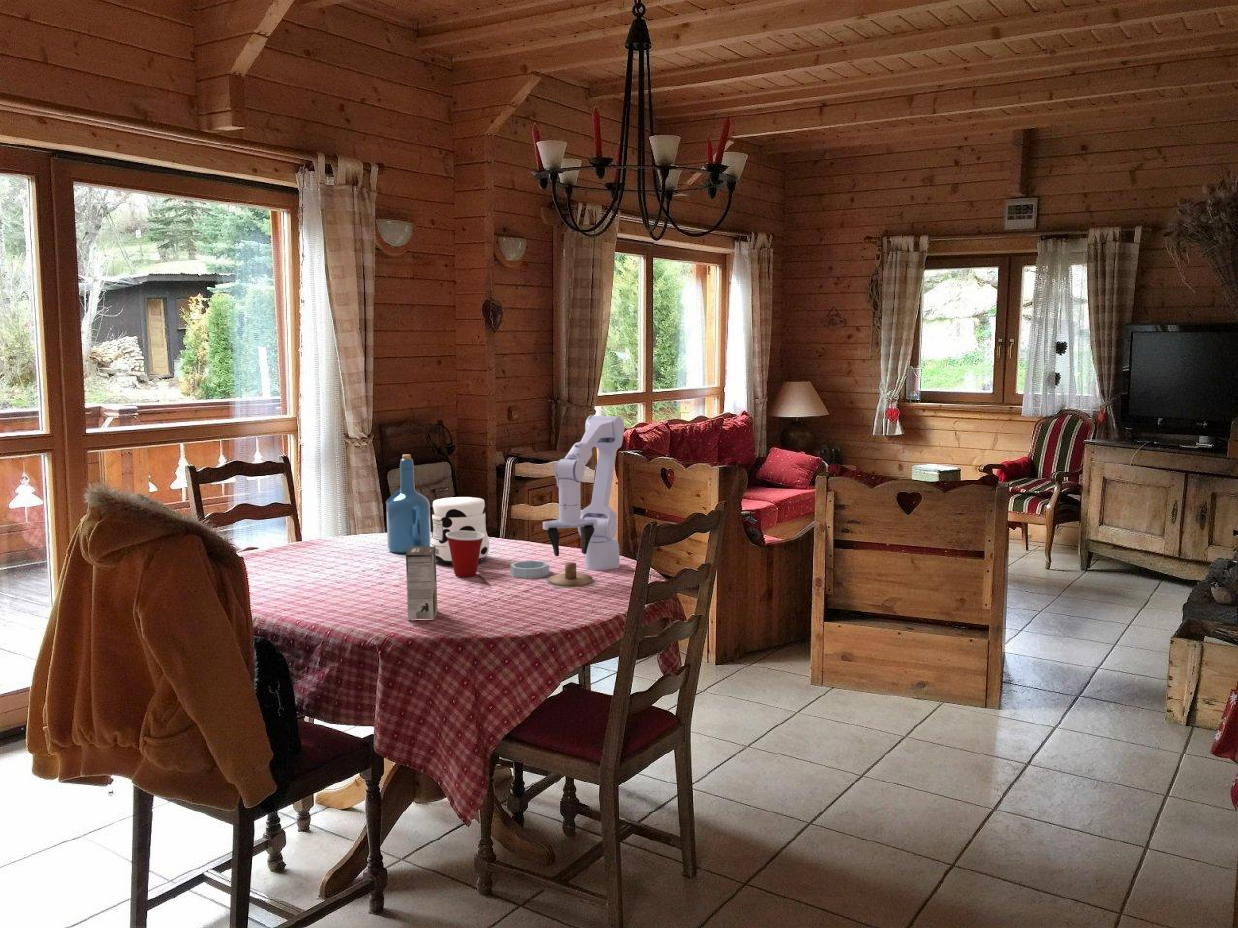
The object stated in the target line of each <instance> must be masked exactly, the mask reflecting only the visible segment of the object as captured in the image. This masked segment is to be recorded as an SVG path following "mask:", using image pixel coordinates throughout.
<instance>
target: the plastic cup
mask: <svg viewBox="0 0 1238 928" xmlns="http://www.w3.org/2000/svg"><path fill="white" fill-rule="evenodd" d="M446 536H447V539H448V543H449V547H450V553H451V559H452V566H453V573H454V575H455V577H457V578H472V577H475V576H476V575H477V571H478V565H479V554H480V548H481V544H482V540H483V538H484V537H485V535H484V534H483V533H480V532H475V531H466V530H460V531H450V532H447V533H446Z"/></svg>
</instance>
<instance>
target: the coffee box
mask: <svg viewBox="0 0 1238 928" xmlns="http://www.w3.org/2000/svg"><path fill="white" fill-rule="evenodd" d="M405 565H406V568H405V569H406V570H405V571H406V595H407V596H406V598H407V599H406V600H407V620H408V619H409V620H410V619H434V620H435V619H436V616H437V613H438V611H439V610H438V587H437V560H436V553H435V547H425V546H415V547H409V549H408V552H407V554H405Z"/></svg>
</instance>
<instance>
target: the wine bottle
mask: <svg viewBox="0 0 1238 928" xmlns="http://www.w3.org/2000/svg"><path fill="white" fill-rule="evenodd" d="M401 457H402V458H400V463H399V471H400V472H399V473H400V487H399V488H400V489H399V490H397V491H396V492H394V494H393V495H391V496H389V498H387V500H386V501H385V504H386V506H385V507H386V534H387V538H386V540H387V548H388V550H389V552H392V553H394V554H395V553H396V554H401V555H402V554H405V555H406V554H407V552H408V549H409V547H415V546H425V547H430V542H431V537H432V534H431V504H430V501H429V499H428V498H427V497H426V496H425V495H423V494H422V493H419V492H417V490H416V489H415V488H416V487H415V473H414V471H415V468H414V467H415V466H414V460H413V458H412V455H411V454H409V453H408V454H407V453H406V454H402V456H401Z"/></svg>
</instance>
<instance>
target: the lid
mask: <svg viewBox="0 0 1238 928" xmlns="http://www.w3.org/2000/svg"><path fill="white" fill-rule="evenodd" d="M548 578H549V583H551V584H553V585H557V586H567V587H568V588H572V587H571V586H579V587H583V586H582V585H587V584H590V583H591V582H592V579H593V576H591V575H589V574H587V573H586V574H585V573H577V562H566V563H564V573H558V574H554V575H552V576H549V577H548ZM549 583H548V584H549ZM551 584H550V585H551Z"/></svg>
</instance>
